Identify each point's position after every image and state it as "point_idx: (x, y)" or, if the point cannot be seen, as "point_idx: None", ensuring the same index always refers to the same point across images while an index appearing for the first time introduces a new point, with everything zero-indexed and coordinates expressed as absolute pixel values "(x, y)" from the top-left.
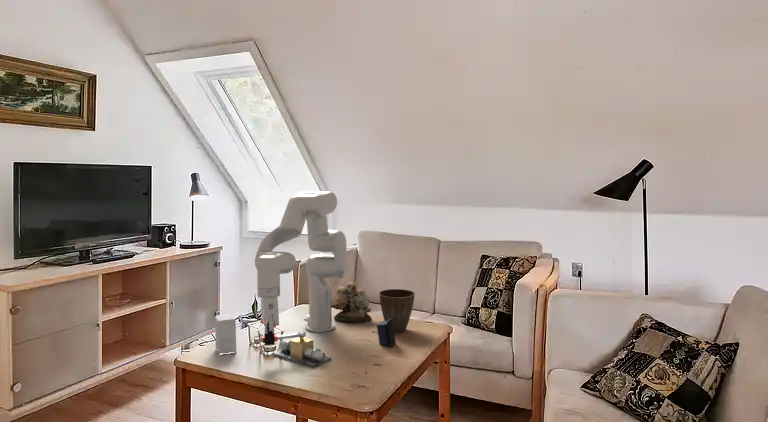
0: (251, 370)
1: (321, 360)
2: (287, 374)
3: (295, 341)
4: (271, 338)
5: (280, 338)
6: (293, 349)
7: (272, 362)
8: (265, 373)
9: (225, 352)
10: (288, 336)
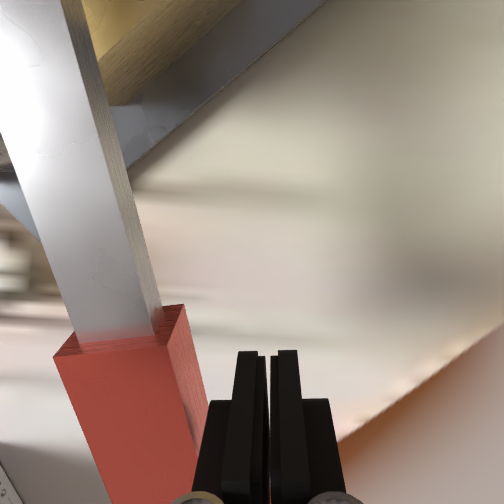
0: (306, 382)
1: None
2: (487, 166)
3: (98, 29)
4: (335, 450)
5: (149, 278)
6: (132, 72)
7: (193, 253)
8: (394, 311)
9: (6, 500)
10: (109, 155)
